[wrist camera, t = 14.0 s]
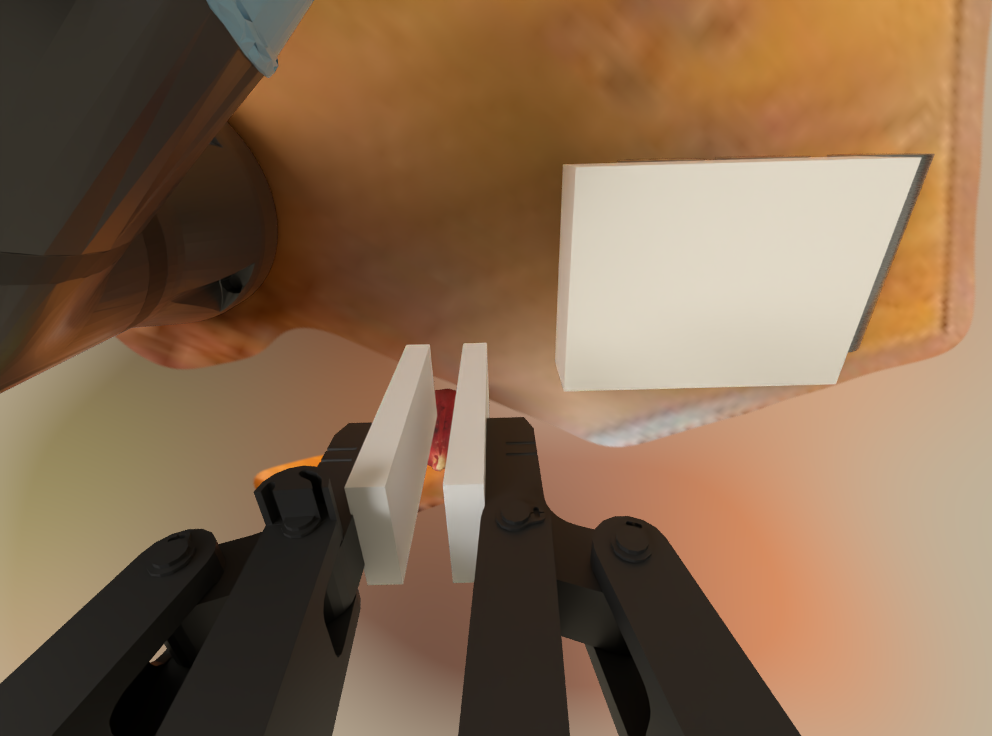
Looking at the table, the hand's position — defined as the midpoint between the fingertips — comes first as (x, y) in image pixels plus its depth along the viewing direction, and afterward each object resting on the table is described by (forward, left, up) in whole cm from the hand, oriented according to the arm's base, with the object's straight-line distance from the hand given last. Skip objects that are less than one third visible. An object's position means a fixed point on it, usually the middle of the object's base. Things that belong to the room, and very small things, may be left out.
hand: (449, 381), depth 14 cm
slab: (+14, 0, -13) cm, 19 cm away
